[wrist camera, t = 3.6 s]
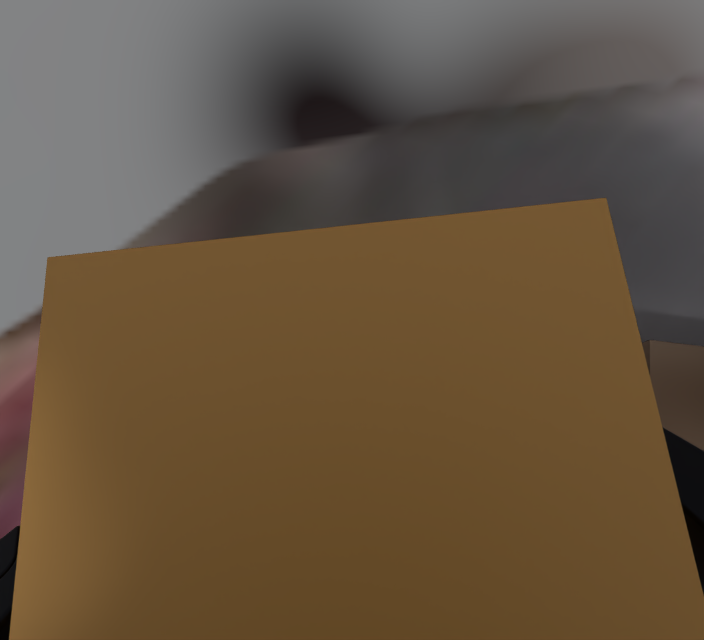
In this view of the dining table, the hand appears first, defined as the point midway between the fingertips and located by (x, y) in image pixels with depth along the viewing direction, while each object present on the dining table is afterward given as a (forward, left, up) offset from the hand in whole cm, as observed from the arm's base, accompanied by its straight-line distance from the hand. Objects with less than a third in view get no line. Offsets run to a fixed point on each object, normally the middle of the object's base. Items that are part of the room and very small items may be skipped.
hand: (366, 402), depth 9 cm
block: (-1, 0, -7) cm, 7 cm away
